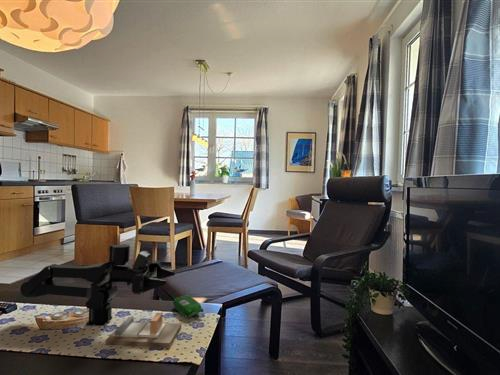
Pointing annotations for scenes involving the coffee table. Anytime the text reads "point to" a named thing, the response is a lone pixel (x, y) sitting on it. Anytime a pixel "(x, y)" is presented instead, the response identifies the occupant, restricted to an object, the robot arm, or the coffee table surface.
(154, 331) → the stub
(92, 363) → the coffee table surface
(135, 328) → the white tray
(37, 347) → the coffee table surface
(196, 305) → the snack package
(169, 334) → the board
